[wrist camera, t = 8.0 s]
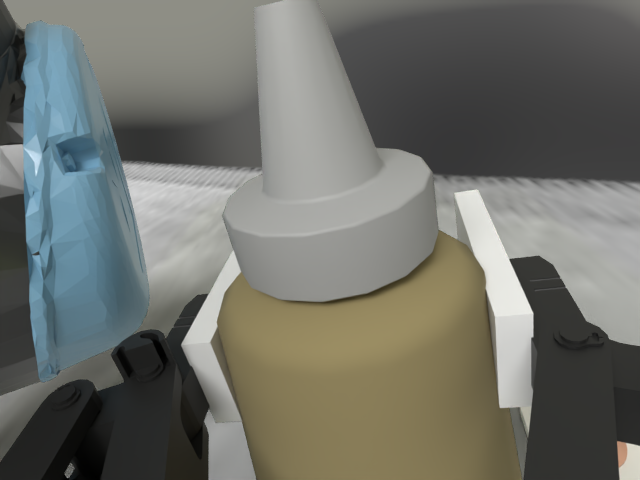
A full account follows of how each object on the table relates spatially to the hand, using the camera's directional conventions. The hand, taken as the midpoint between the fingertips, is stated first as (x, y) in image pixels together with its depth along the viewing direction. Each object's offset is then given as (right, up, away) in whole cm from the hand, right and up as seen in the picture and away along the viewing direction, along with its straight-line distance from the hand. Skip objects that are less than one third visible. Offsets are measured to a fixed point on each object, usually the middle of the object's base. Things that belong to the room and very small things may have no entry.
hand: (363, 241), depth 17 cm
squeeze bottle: (+2, -11, 0) cm, 11 cm away
